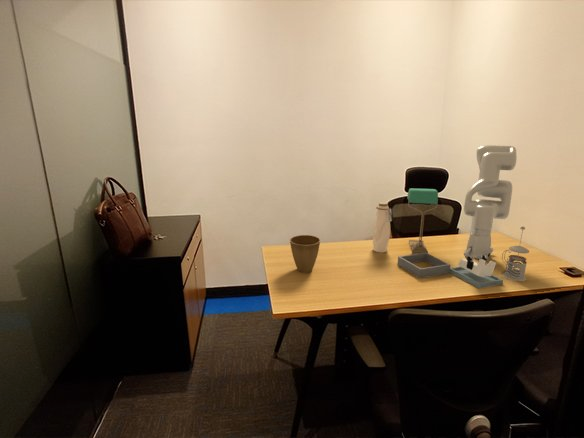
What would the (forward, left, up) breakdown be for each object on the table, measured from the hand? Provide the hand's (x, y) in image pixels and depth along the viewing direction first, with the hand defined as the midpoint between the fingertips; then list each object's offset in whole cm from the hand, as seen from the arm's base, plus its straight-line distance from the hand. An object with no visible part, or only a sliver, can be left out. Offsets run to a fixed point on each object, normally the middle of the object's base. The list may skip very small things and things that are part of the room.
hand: (476, 267), depth 162 cm
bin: (+16, -17, -5) cm, 24 cm away
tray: (0, 0, -5) cm, 5 cm away
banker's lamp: (-2, -44, -6) cm, 44 cm away
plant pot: (+73, -35, -6) cm, 81 cm away
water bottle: (+21, -47, -6) cm, 52 cm away
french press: (-19, +4, -6) cm, 20 cm away
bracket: (0, 0, -2) cm, 2 cm away
